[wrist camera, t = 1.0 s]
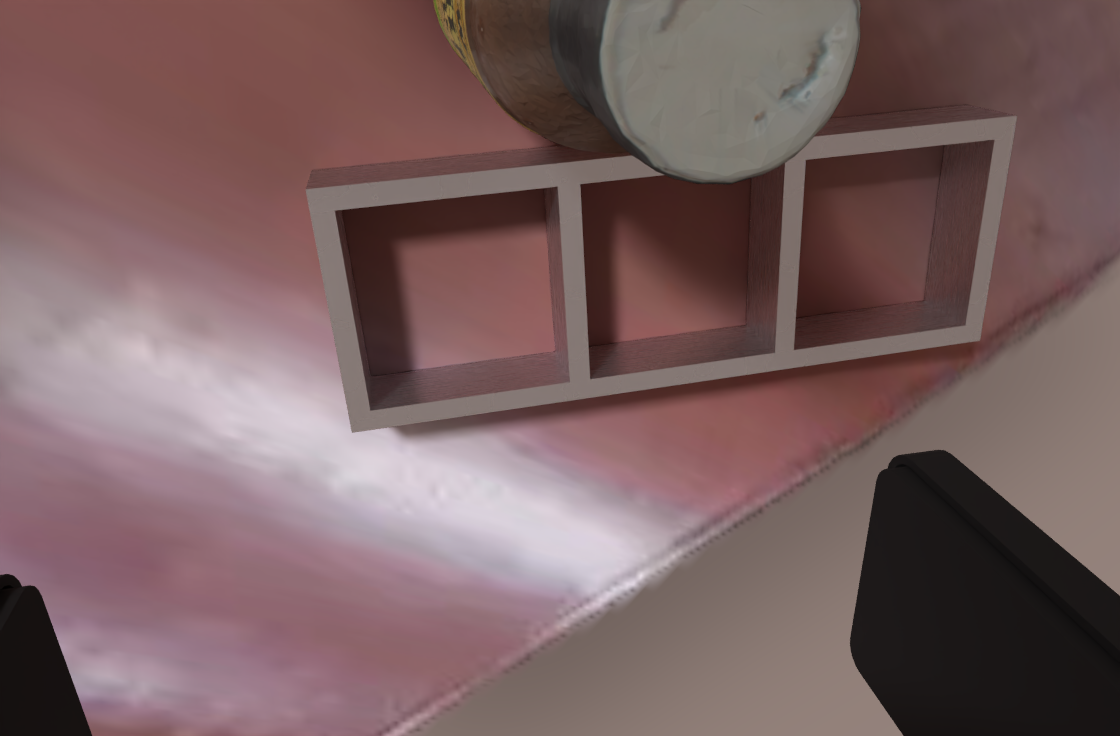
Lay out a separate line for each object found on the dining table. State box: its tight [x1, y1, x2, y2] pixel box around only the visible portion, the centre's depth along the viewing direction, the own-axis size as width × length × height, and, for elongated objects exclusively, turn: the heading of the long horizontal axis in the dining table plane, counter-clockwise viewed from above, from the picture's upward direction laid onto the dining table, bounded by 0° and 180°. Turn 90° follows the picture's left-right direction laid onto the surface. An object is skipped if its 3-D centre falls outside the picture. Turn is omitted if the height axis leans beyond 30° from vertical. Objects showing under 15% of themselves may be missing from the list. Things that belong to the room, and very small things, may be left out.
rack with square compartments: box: [306, 105, 1017, 433], centre depth 33 cm, size 9×26×3 cm, turn 93°
